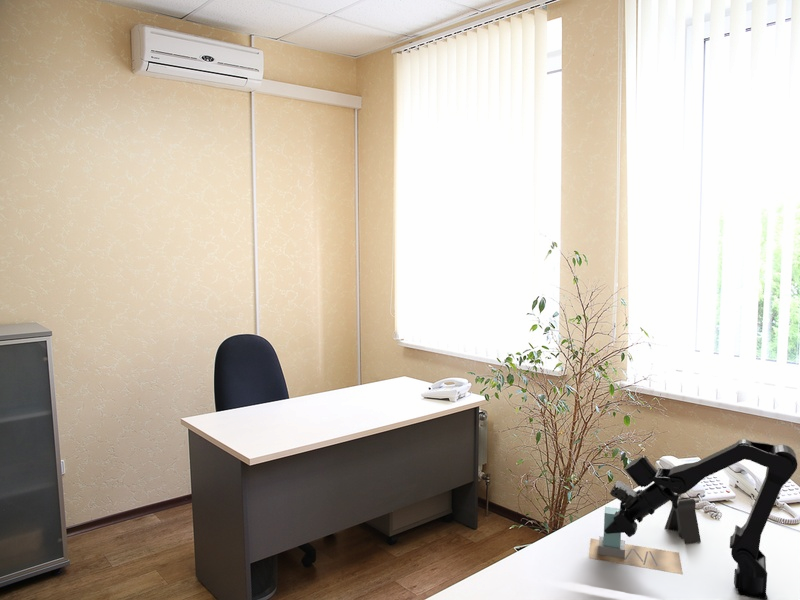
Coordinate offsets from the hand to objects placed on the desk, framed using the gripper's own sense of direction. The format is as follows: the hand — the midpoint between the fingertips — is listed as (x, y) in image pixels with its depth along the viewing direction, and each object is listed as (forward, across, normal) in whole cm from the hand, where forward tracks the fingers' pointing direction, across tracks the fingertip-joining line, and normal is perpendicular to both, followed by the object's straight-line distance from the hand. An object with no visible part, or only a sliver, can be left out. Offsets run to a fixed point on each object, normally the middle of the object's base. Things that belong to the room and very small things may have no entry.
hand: (607, 528), depth 175 cm
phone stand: (-7, -23, +18) cm, 30 cm away
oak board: (+1, -1, +11) cm, 11 cm away
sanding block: (+4, 0, +6) cm, 7 cm away
